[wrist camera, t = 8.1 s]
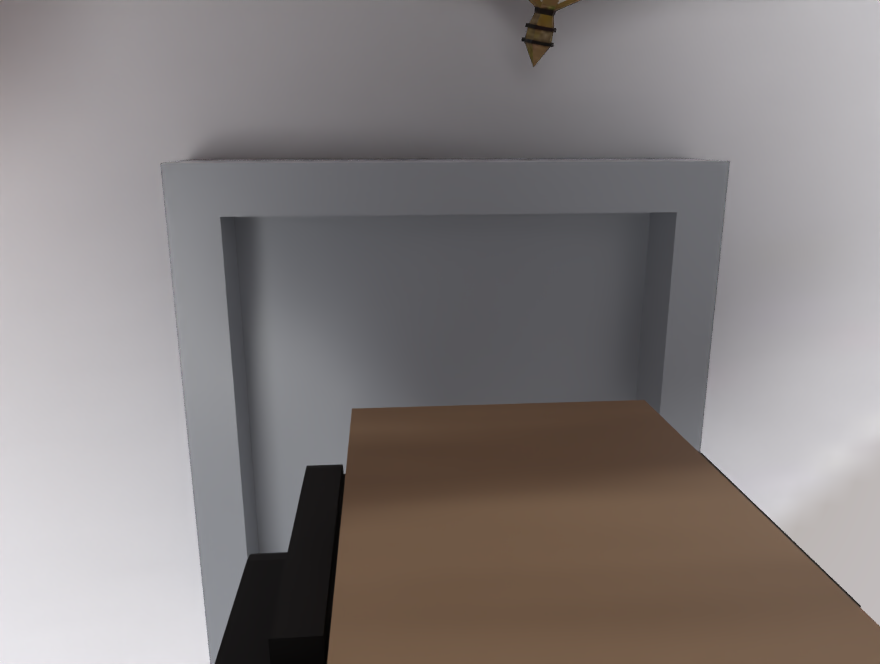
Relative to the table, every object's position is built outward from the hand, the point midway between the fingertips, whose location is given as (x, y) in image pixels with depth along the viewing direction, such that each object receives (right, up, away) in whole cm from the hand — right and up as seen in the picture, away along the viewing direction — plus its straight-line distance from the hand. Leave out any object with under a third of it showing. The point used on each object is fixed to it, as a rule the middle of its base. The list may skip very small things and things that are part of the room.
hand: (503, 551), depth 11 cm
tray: (-1, +2, +6) cm, 7 cm away
